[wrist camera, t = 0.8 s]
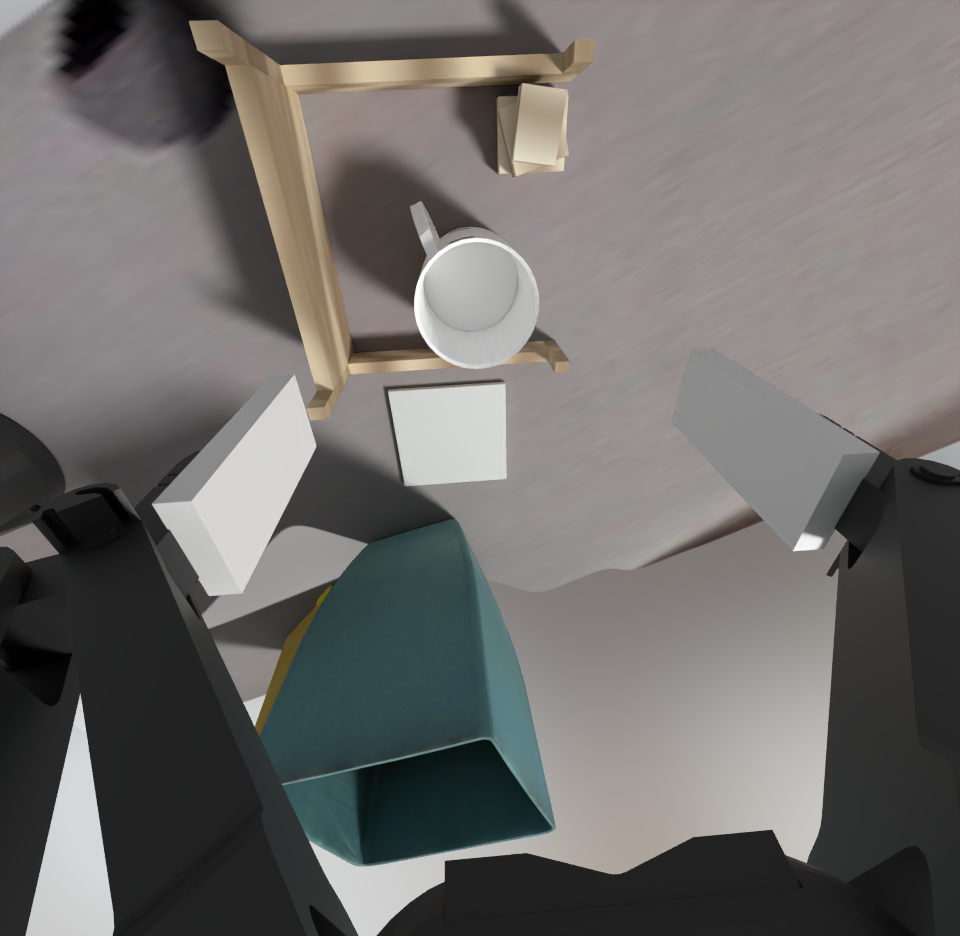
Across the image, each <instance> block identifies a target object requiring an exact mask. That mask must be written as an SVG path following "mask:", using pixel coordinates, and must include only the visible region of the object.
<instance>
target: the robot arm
mask: <svg viewBox="0 0 960 936" xmlns="http://www.w3.org/2000/svg"><path fill="white" fill-rule="evenodd" d="M672 423H673V424H674V425H675V426H676V427H677V428H678V429H679V430H680V431H681V432H682V434H683V435H684V436H685V437H686V438H687V439H688V440H689V441H690V442H691V443H692V444H693V445H694V446H695V447H696V448H697V450H698V451H699V452H700V453H701V454H702V455H703V456H704V457H705V458H706V459H707V460H708V461H709V462H710V463H711V464H712V466H713V467H714V468H715V469H716V470H717V471H718V472H719V473H720V474H721V475H722V476H723V477H724V478H725V479H726V480H727V482H728V483H729V484H730V485H731V486H732V487H733V488H734V489H735V490H736V491H737V492H738V493H739V494H740V495H741V496H742V498H743V499H744V500H745V501H746V502H747V503H748V504H749V505H750V506H751V507H752V508H753V509H754V510H755V511H756V512H757V514H758V515H759V516H760V517H761V518H762V519H763V520H764V521H765V522H766V523H767V524H768V525H769V526H770V527H771V528H772V529H773V530H774V531H775V533H776V534H777V535H778V536H779V537H780V538H781V539H782V540H783V541H784V542H785V543H786V544H787V545H788V547H789V548H791V550H792V551H801V550H813V549H824V548H825V546H826V544H827V542H828V541H829V539H830V537H831V535H832V534H833V532H834V530H835V529H836V530H837V531H838V532H840V533H841V534H842V535H843V536H844V537H845V538H846V539H847V542H846V543H845V545H844V547H843V548H842V550H841V551H840V553H839V555H838V556H837V558H836V560H835V561H834V563H833V564H832V566H831V568H830V569H829V571H828V573H827V575H828V576H831V577H832V576H833V574H834V573H835V572H837V571H839V575H838V590H837V604H836V620H835V634H834V648H833V663H832V678H831V692H830V693H831V694H830V707H829V721H828V736H827V737H828V738H827V751H826V765H825V780H824V796H823V810H822V820H821V827H820V830H819V834H818V837H817V839H816V842H815V844H814V846H813V848H812V850H811V852H810V855H809V858H808V862H807V863H805V862H802V861H799V860H797V859H794V858H791V857H789V856H786V855H785V854H784V852H783V850H782V848H781V846H780V844H779V842H778V840H777V838H776V837H775V834H774V832H773V830H766V831H755V832H745V833H735V834H724V835H713V836H702V837H693V838H691V839H689V840H687V841H686V842H683V843H682V844H679V845H678V846H676V847H674V848H672V849H670V850H668V851H666V852H664V853H662V854H660V855H658V856H656V857H655V858H652V859H650V860H648V861H646V862H644V863H643V864H641V865H639V866H637V867H635V868H633V869H631V870H629V871H627V872H625V873H622V874H615V875H613V874H607V873H603V872H599V871H595V870H591V869H587V868H583V867H579V866H575V865H571V864H568V863H564V862H560V861H555V860H551V859H547V858H543V857H540V856H536V855H532V854H527V853H524V854H513V855H503V856H492V857H482V858H471V859H460V860H449V861H445V882H443V883H441V884H439V885H437V886H435V887H433V888H431V889H429V890H427V891H426V892H425V893H423V894H422V895H420V896H419V897H417V898H416V899H414V900H413V901H411V902H410V903H409V904H408V905H407V906H405V907H404V908H403V909H402V910H401V911H400V912H399V913H398V914H396V915H395V916H394V917H393V918H392V919H391V920H390V921H389V922H388V923H387V925H386V926H385V927H384V928H383V929H382V930H381V931H380V932H379V934H378V935H377V936H960V470H958V469H955V468H953V467H950V466H948V465H944V464H941V463H937V462H934V461H930V460H923V459H917V458H911V459H901V460H898V461H897V460H896V459H894V458H892V457H891V456H889V455H887V454H886V453H884V452H883V451H881V450H879V449H878V448H876V447H874V446H873V445H871V444H870V443H868V442H866V441H865V440H863V439H861V438H860V437H858V436H854V434H853V433H852V432H850V431H848V430H847V429H845V428H841V426H840V425H839V424H837V423H835V422H834V421H832V420H831V419H829V418H827V417H826V416H823V415H820V414H818V413H816V412H814V411H813V410H811V409H810V408H808V407H806V406H805V405H803V404H802V403H800V402H798V401H797V400H795V399H794V398H792V397H790V396H789V395H787V394H786V393H784V392H782V391H781V390H779V389H777V388H776V387H774V386H773V385H771V384H769V383H768V382H766V381H765V380H763V379H761V378H760V377H758V376H757V375H755V374H753V373H752V372H750V371H748V370H747V369H745V368H744V367H742V366H740V365H739V364H737V363H736V362H734V361H732V360H731V359H729V358H728V357H726V356H724V355H723V354H721V353H720V352H718V351H716V350H715V349H713V348H701V349H689V353H688V357H687V362H686V366H685V370H684V374H683V378H682V382H681V386H680V391H679V395H678V399H677V403H676V407H675V411H674V415H673V420H672ZM316 447H317V446H316V443H315V439H314V436H313V433H312V430H311V426H310V423H309V420H308V417H307V413H306V410H305V407H304V404H303V400H302V397H301V394H300V390H299V387H298V384H297V381H296V377H295V374H292V375H276V376H270V377H269V378H268V379H267V381H266V382H265V383H264V384H263V385H262V386H261V387H260V388H259V389H258V390H257V391H256V392H255V393H254V395H253V396H252V397H251V398H250V399H249V400H248V401H247V402H246V403H245V404H244V405H243V406H242V407H241V409H240V410H239V411H238V412H237V413H236V414H235V415H234V416H233V417H232V418H231V419H230V420H229V421H228V422H227V424H226V425H225V426H224V427H223V428H222V429H221V430H220V431H219V432H218V433H217V434H216V435H215V436H214V438H213V439H212V440H211V441H210V442H209V443H208V444H207V445H206V446H205V447H204V448H203V449H202V450H201V451H196V452H195V453H193V454H192V455H190V456H188V457H187V458H185V459H183V460H182V461H180V462H179V463H178V464H177V465H176V466H175V467H174V468H173V469H172V470H171V471H170V472H169V473H168V474H167V475H168V476H167V477H164V478H163V479H162V480H161V481H160V482H159V483H158V487H154V488H153V489H152V490H151V492H150V493H149V494H148V495H147V496H146V497H145V498H144V499H143V500H142V501H141V502H140V503H139V504H138V505H137V506H136V507H135V508H133V507H132V505H131V504H130V502H129V501H128V499H127V498H126V496H125V495H124V493H123V492H122V490H121V489H120V488H119V487H118V486H117V485H115V484H108V483H102V484H94V485H89V486H85V487H82V488H78V489H75V490H72V491H70V492H68V493H65V494H64V491H65V481H64V476H63V473H62V471H61V468H60V466H59V465H58V463H57V461H56V460H55V458H54V457H53V455H52V454H51V453H50V452H49V451H48V449H47V448H46V447H45V446H44V445H43V444H42V443H41V442H40V441H39V440H38V439H36V438H35V437H34V436H33V435H32V434H30V433H29V432H28V431H27V430H25V429H24V428H22V427H21V426H19V425H18V424H16V423H15V422H13V421H11V420H10V419H8V418H6V417H4V416H2V415H0V536H1V535H4V534H6V533H9V532H11V531H14V530H16V529H19V528H21V527H24V526H26V525H29V524H31V523H34V524H35V526H36V527H37V528H38V529H39V530H40V532H41V533H42V534H43V535H44V536H45V537H46V539H47V540H48V541H49V542H50V543H51V544H52V546H53V547H54V548H55V549H56V550H57V551H58V553H59V554H57V555H53V556H49V557H46V558H42V559H38V560H34V561H30V562H27V563H25V562H24V561H23V560H22V559H21V558H20V557H19V556H18V555H17V554H16V553H15V552H14V551H13V550H12V549H10V548H8V547H0V936H25V935H26V930H27V926H28V921H29V917H30V913H31V908H32V903H33V899H34V894H35V891H36V886H37V882H38V877H39V873H40V868H41V864H42V859H43V855H44V850H45V846H46V842H47V837H48V833H49V829H50V824H51V819H52V815H53V811H54V806H55V802H56V798H57V793H58V789H59V784H60V780H61V775H62V771H63V767H64V762H65V758H66V753H67V749H68V744H69V740H70V736H71V731H72V727H73V722H74V718H75V714H76V709H77V705H78V700H79V696H80V692H81V699H82V705H83V712H84V719H85V725H86V732H87V738H88V745H89V752H90V759H91V765H92V772H93V778H94V785H95V791H96V799H97V806H98V812H99V819H100V825H101V831H102V839H103V845H104V852H105V859H106V866H107V872H108V879H109V885H110V892H111V898H112V905H113V911H114V932H113V936H358V934H357V932H356V930H355V928H354V926H353V924H352V922H351V920H350V918H349V916H348V914H347V912H346V911H345V909H344V907H343V905H342V903H341V901H340V900H339V898H338V896H337V895H336V893H335V891H334V890H333V888H332V886H331V885H330V883H329V881H328V879H327V877H326V876H325V874H324V872H323V870H322V868H321V866H320V864H319V862H318V859H317V858H316V855H315V854H314V851H313V849H312V847H311V845H310V843H309V840H308V838H307V836H306V834H305V832H304V830H303V828H302V826H301V824H300V822H299V819H298V817H297V815H296V813H295V811H294V809H293V807H292V805H291V803H290V800H289V798H288V796H287V794H286V792H285V790H284V788H283V786H282V784H281V782H280V779H279V777H278V775H277V773H276V771H275V769H274V767H273V765H272V763H271V760H270V758H269V756H268V754H267V752H266V750H265V748H264V746H263V744H262V742H261V739H260V737H259V735H258V733H257V731H256V729H255V727H254V725H253V723H252V720H251V718H250V716H249V714H248V712H247V710H246V708H245V706H244V704H243V702H242V699H241V697H240V695H239V693H238V691H237V689H236V687H235V685H234V683H233V680H232V678H231V676H230V674H229V672H228V670H227V668H226V666H225V664H224V661H223V659H222V657H221V655H220V653H219V651H218V649H217V647H216V645H215V643H214V640H213V638H212V636H211V634H210V632H209V630H208V628H207V626H206V624H205V622H204V620H203V617H202V615H201V613H200V611H199V609H198V607H197V605H196V603H195V601H194V600H193V598H192V597H191V595H190V591H191V590H192V588H193V586H194V585H195V583H196V582H197V580H198V579H199V581H200V582H201V584H202V586H203V587H204V589H205V591H206V592H207V594H208V595H209V596H218V595H231V594H242V593H243V591H244V589H245V587H246V585H247V583H248V581H249V579H250V577H251V575H252V573H253V571H254V570H255V567H256V566H257V564H258V561H259V560H260V558H261V555H262V554H263V552H264V550H265V548H266V546H267V544H268V542H269V540H270V538H271V536H272V534H273V532H274V530H275V528H276V526H277V524H278V522H279V520H280V518H281V516H282V514H283V512H284V510H285V508H286V506H287V504H288V502H289V500H290V498H291V496H292V494H293V492H294V490H295V488H296V486H297V484H298V482H299V480H300V478H301V476H302V474H303V472H304V470H305V469H306V467H307V465H308V463H309V461H310V459H311V457H312V455H313V453H314V451H315V449H316Z"/></svg>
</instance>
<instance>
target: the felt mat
mask: <svg viewBox="0 0 960 936" xmlns="http://www.w3.org/2000/svg"><path fill="white" fill-rule="evenodd" d="M388 394H389V400H390V405H391V411H392V416H393V422H394V428H395V433H396V439H397V444H398V450H399V455H400V461H401V467H402V472H403V478H404V483H405V486H416V485H429V484H443V483H456V482H470V481H483V480H497V479H506V393H505V382H492V383H477V384H462V385H447V386H432V387H417V388H402V389H389V390H388Z"/></svg>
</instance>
